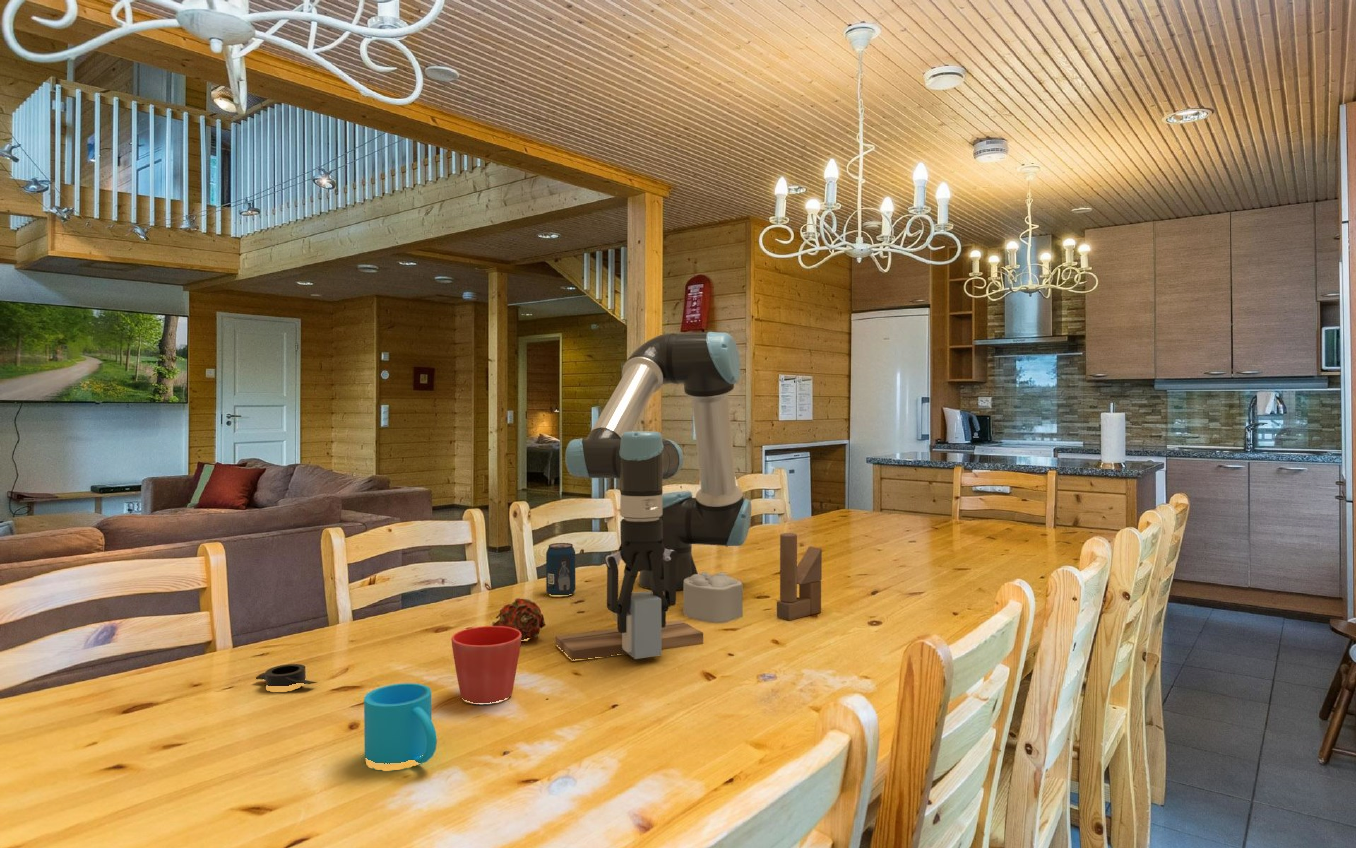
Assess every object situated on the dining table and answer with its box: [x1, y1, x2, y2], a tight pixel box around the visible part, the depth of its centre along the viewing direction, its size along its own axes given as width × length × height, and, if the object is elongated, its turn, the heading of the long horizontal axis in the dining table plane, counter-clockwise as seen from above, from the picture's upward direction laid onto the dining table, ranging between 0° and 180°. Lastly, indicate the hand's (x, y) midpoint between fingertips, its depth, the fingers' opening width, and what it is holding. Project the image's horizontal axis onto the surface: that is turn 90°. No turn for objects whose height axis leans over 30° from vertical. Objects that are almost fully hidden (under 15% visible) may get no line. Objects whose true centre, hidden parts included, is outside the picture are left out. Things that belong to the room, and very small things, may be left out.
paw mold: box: [682, 571, 744, 624], centre depth 171 cm, size 10×13×9 cm
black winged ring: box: [255, 663, 318, 686], centre depth 127 cm, size 8×10×3 cm
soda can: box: [545, 542, 576, 595], centre depth 189 cm, size 7×7×12 cm
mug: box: [363, 682, 438, 764], centre depth 100 cm, size 12×8×8 cm
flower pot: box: [451, 625, 522, 703], centre depth 123 cm, size 11×11×10 cm
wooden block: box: [776, 532, 823, 621], centre depth 170 cm, size 4×11×18 cm, turn 130°
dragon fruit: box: [491, 597, 546, 640], centre depth 153 cm, size 8×8×12 cm
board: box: [555, 619, 704, 660], centre depth 149 cm, size 10×26×2 cm, turn 116°
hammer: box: [612, 591, 662, 660], centre depth 145 cm, size 15×5×10 cm, turn 25°
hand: (641, 647), depth 141 cm, fingers closed on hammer, 5 cm apart
